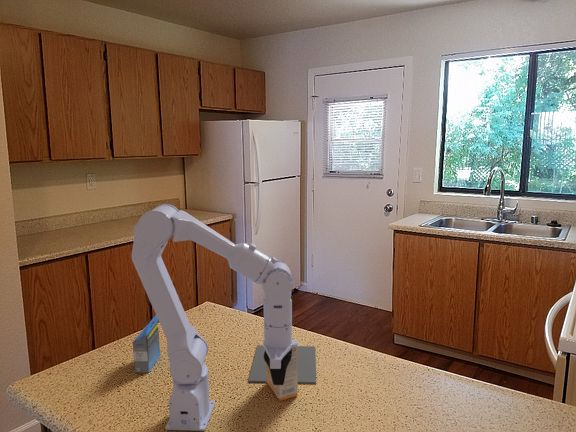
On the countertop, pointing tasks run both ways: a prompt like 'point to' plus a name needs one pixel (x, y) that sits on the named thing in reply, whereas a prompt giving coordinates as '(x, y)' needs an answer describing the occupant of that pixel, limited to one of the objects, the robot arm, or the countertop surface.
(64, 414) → the countertop surface
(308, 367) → the mat
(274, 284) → the robot arm
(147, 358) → the label tape cartridge
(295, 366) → the supplement box
